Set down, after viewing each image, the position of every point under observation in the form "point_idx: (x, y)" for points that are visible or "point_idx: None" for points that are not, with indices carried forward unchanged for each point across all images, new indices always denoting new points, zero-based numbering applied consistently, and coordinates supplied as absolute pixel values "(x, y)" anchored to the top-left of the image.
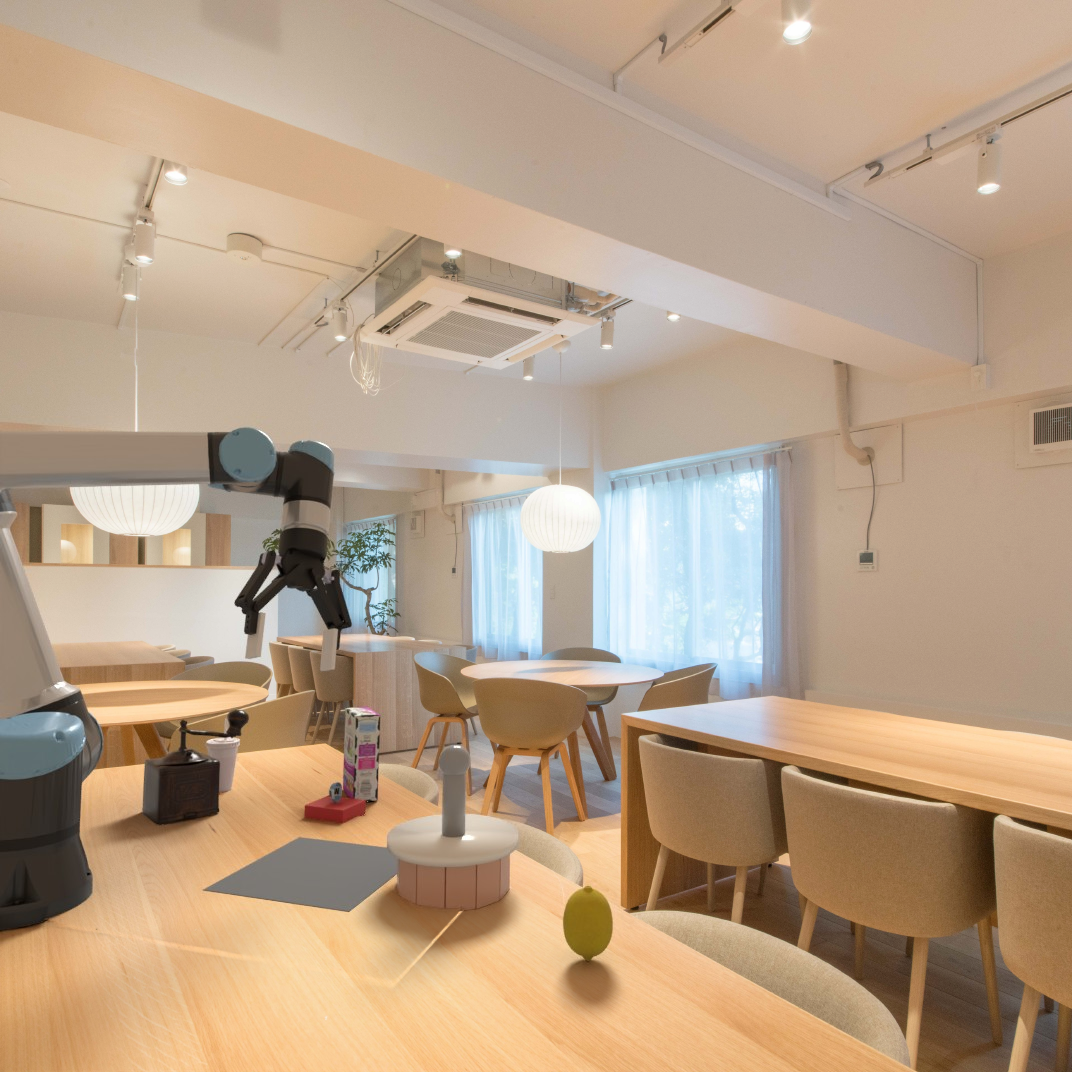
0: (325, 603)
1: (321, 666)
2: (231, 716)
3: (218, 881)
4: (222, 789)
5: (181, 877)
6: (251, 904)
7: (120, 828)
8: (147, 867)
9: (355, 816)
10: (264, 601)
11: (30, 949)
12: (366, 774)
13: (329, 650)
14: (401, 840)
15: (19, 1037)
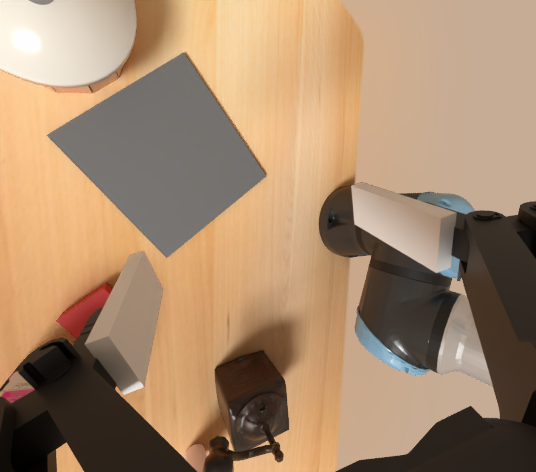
0: (157, 435)
1: (160, 290)
2: (230, 459)
3: (254, 185)
4: (196, 446)
5: (270, 218)
6: (241, 132)
7: (287, 352)
8: (285, 251)
9: (81, 300)
10: (492, 235)
11: (349, 154)
12: (25, 384)
13: (139, 292)
14: (118, 22)
15: (360, 56)
